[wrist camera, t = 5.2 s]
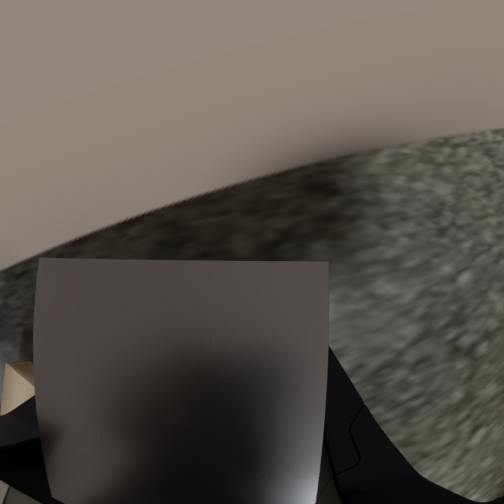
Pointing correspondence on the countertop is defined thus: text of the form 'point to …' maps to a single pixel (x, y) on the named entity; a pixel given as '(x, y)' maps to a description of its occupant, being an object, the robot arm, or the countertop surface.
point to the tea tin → (181, 379)
